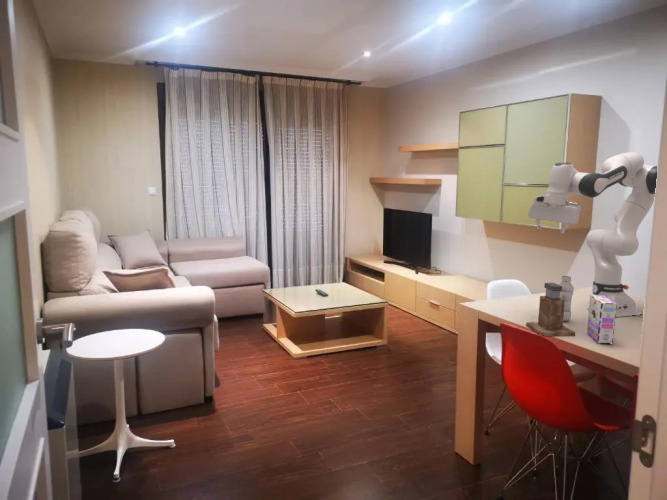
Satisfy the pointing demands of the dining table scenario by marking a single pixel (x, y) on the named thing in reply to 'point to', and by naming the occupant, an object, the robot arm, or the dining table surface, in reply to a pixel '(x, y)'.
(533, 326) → the stand
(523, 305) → the dining table surface
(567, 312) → the plastic bottle
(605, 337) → the candy box
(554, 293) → the column
